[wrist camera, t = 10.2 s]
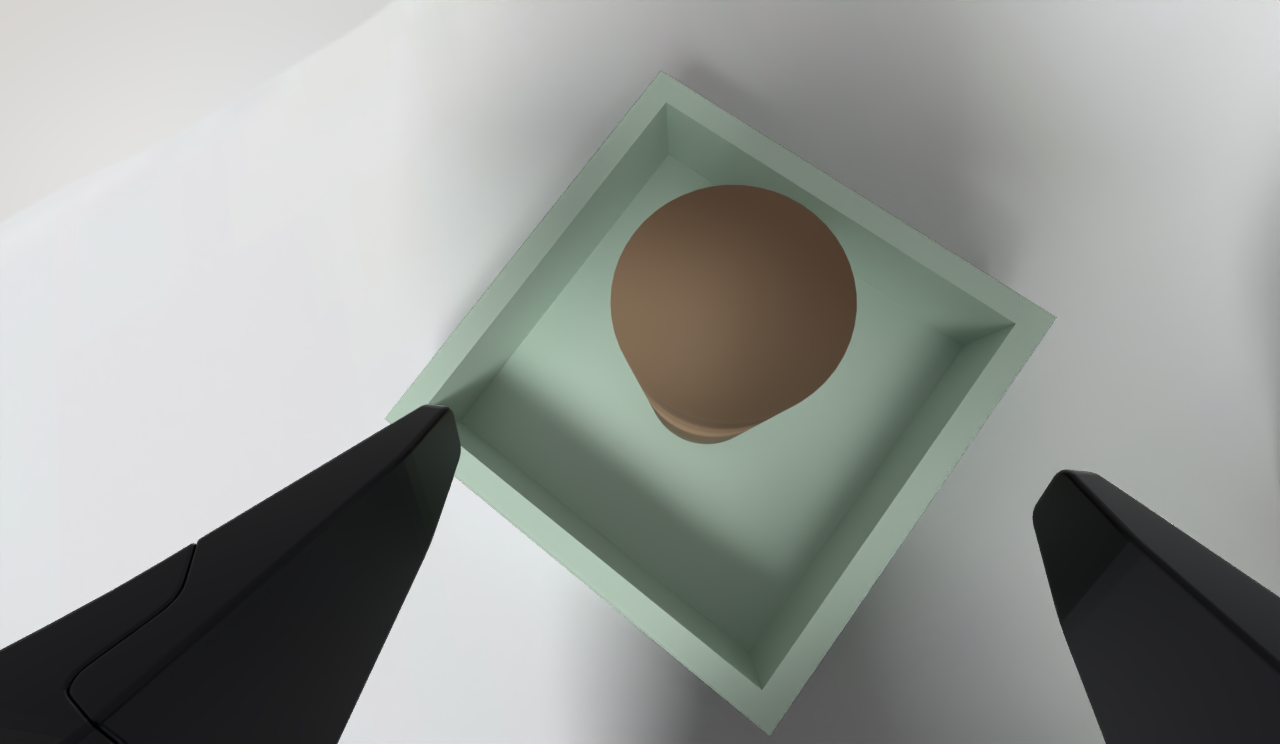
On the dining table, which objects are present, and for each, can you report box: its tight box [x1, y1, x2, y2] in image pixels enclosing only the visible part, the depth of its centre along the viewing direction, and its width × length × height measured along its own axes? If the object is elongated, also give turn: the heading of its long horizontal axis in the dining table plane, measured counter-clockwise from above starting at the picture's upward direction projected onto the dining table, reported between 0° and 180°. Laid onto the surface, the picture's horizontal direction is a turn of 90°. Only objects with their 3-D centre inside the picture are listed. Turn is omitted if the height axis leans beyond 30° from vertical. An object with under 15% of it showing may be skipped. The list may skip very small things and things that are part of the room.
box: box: [385, 71, 1057, 736], centre depth 18 cm, size 14×14×4 cm
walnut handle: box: [610, 185, 857, 444], centre depth 14 cm, size 4×4×10 cm
